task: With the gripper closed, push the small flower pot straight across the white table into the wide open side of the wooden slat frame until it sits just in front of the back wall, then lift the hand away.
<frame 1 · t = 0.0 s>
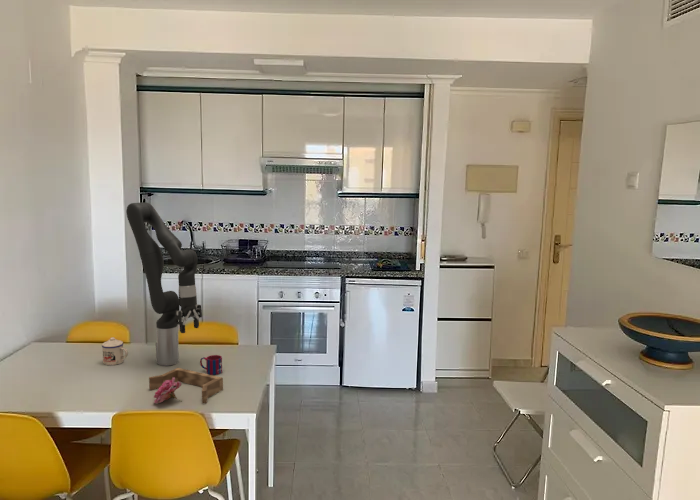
hand: (189, 330, 237), 17 cm above the table, tool pointing down, fingers open, 8 cm apart
flower: (166, 401, 204), on the table
cup: (211, 372, 234), on the table
teacup with lid: (116, 362, 244), on the table
wooden slat frame: (195, 386, 218), on the table
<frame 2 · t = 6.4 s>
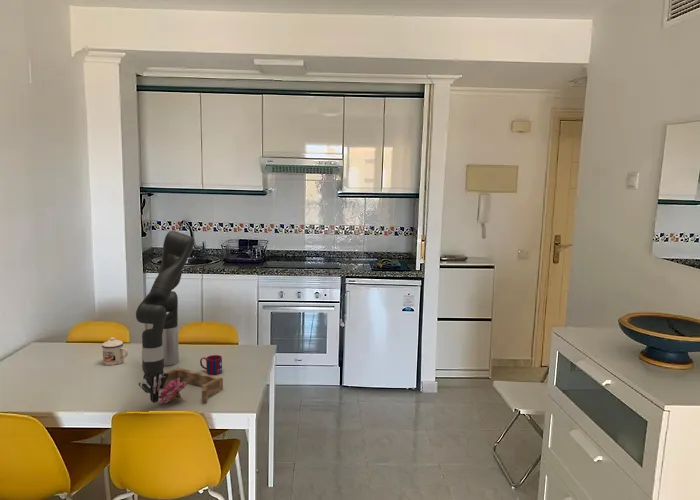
hand: (154, 401, 198), 2 cm above the table, tool pointing down, fingers closed
flower: (171, 401, 204), on the table, touching gripper
everything else where it was.
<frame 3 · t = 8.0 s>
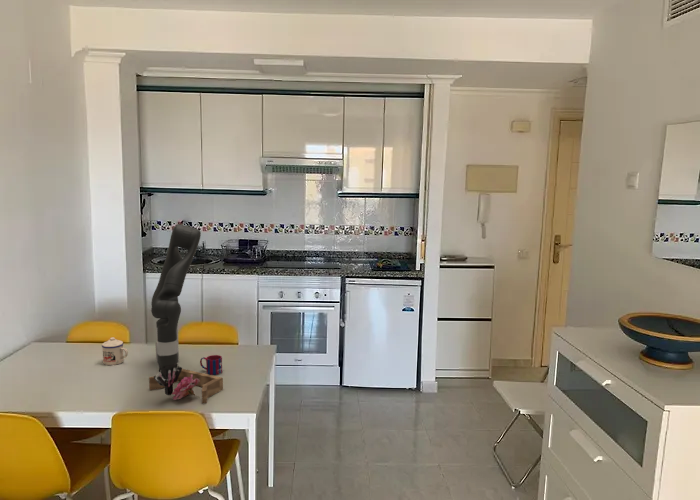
hand: (168, 394, 205), 2 cm above the table, tool pointing down, fingers closed
flower: (185, 398, 207), on the table, touching gripper
everything else where it was.
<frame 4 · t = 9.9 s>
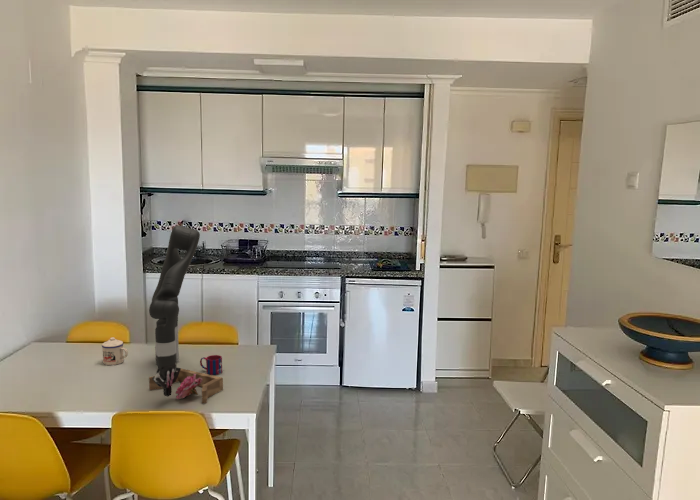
hand: (167, 395, 203), 2 cm above the table, tool pointing down, fingers closed
flower: (188, 397, 208), on the table
everything else where it was.
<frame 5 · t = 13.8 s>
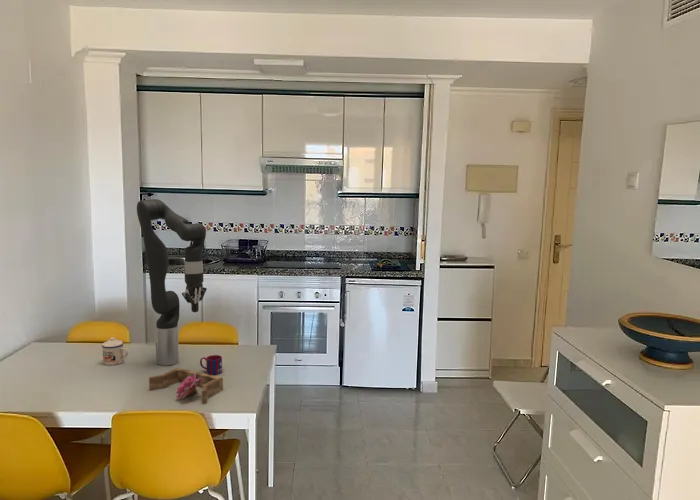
hand: (195, 311, 223), 29 cm above the table, tool pointing down, fingers closed
nothing on the table moved.
at the end: flower inside the target area on the wooden slat frame (5.4 cm from its centre), point 0.0 cm above the wooden slat frame's base; flower moved 8.3 cm from its start; flower tilted 1° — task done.
